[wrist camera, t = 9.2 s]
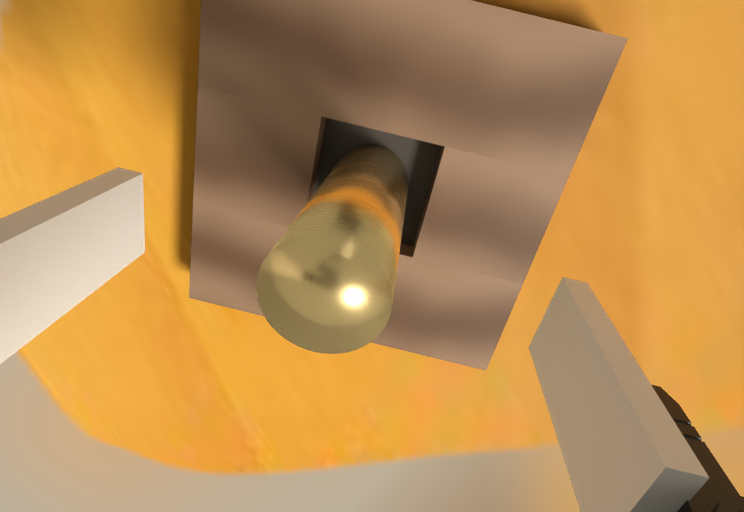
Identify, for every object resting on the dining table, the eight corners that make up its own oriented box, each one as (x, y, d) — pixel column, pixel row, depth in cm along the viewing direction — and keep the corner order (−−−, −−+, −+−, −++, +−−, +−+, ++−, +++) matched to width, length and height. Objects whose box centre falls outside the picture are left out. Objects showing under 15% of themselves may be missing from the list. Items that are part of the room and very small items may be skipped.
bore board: (223, -56, 20) (203, -66, 18) (609, 39, 20) (627, 38, 18) (204, 281, 28) (189, 297, 26) (481, 349, 28) (485, 370, 26)
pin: (340, 136, 23) (262, 219, 12) (416, 154, 23) (406, 252, 12) (328, 208, 25) (251, 336, 14) (399, 225, 25) (377, 366, 14)
